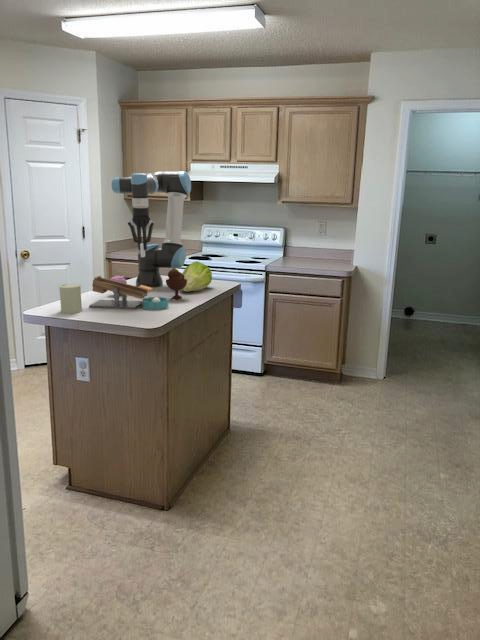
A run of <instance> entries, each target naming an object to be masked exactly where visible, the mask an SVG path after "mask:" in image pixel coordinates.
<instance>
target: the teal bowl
mask: <svg viewBox="0 0 480 640" xmlns="http://www.w3.org/2000/svg"><path fill="white" fill-rule="evenodd" d="M156 297H157V298H159V299H160V301H161V302H152V300H153V298H156ZM141 301H142V308H143V309H144V310H147V311H149V310H150V311H158V310H159V309H160V310H165V309H168V308H169V299H168V298H167V297H163V296H151V297H144V298H142V299H141ZM167 307H168V308H167ZM164 308H165V309H164Z"/></svg>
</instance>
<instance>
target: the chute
mask: <svg viewBox="0 0 480 640" xmlns="http://www.w3.org/2000/svg"><path fill="white" fill-rule="evenodd" d="M91 286H92V292H95V293H99V294H104V293H106V292H108V291H110V292H112V293H113V292H114V288H115V287H117V288H118V289H119V294H124V295H127V297H133V298H137V299H141V300H143V299H144V298H146V297H147V296H148V294H149V293H150V292H152V291H153V290H154V287H152V288H151V287H147V286H143V285H141V286H139V287H137V286H136V285H132V284H128V283H127V284H125V283H121V282H117V281H113V280H110V279H109V278H103V277H102V275H98V276H97V275H96V276H95V277H94V278H93V280H92V285H91Z"/></svg>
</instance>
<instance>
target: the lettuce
mask: <svg viewBox="0 0 480 640" xmlns="http://www.w3.org/2000/svg"><path fill="white" fill-rule="evenodd" d="M181 273H182V274H183V275H184V279H187V284H186V286H185V287H184V288H183V289H182V290H183V291H185V292H192V291H193V292H195V291H203V290H204V289H206V288H207V287H208V286H209V285H210V284H211V283H212V280H213V276H212V275H213V274H212V270H211V269H210V267H209V266H208V265H206V264H205V263H202V262H200V261H198V260H196V261H194V262H191V263H189V264H188V265H187V266H186V267H185V268H184V270H183V271H182V272H181Z"/></svg>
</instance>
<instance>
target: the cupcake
mask: <svg viewBox="0 0 480 640" xmlns="http://www.w3.org/2000/svg"><path fill="white" fill-rule="evenodd" d="M109 280H113V281H117V282H121V283H125V284H128V282H127V280H126V278H125V277H124V276H121V275H115V276H112V277H110V279H109ZM112 293H113V294H114V292H113V291H112ZM119 296H122V294H119Z"/></svg>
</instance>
